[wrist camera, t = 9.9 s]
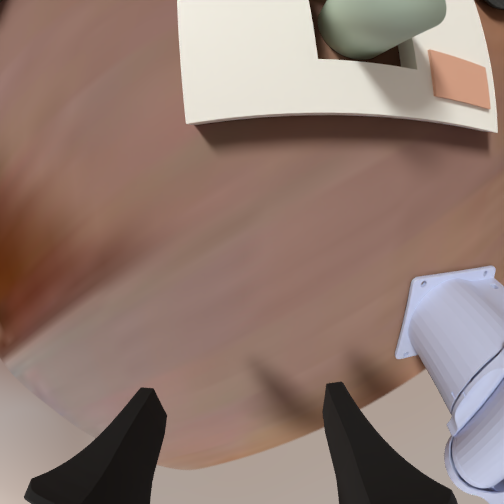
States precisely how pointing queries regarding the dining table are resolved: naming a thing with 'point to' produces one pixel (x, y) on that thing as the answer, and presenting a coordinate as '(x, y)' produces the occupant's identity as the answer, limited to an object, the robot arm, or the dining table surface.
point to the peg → (376, 24)
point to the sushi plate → (496, 3)
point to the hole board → (328, 68)
